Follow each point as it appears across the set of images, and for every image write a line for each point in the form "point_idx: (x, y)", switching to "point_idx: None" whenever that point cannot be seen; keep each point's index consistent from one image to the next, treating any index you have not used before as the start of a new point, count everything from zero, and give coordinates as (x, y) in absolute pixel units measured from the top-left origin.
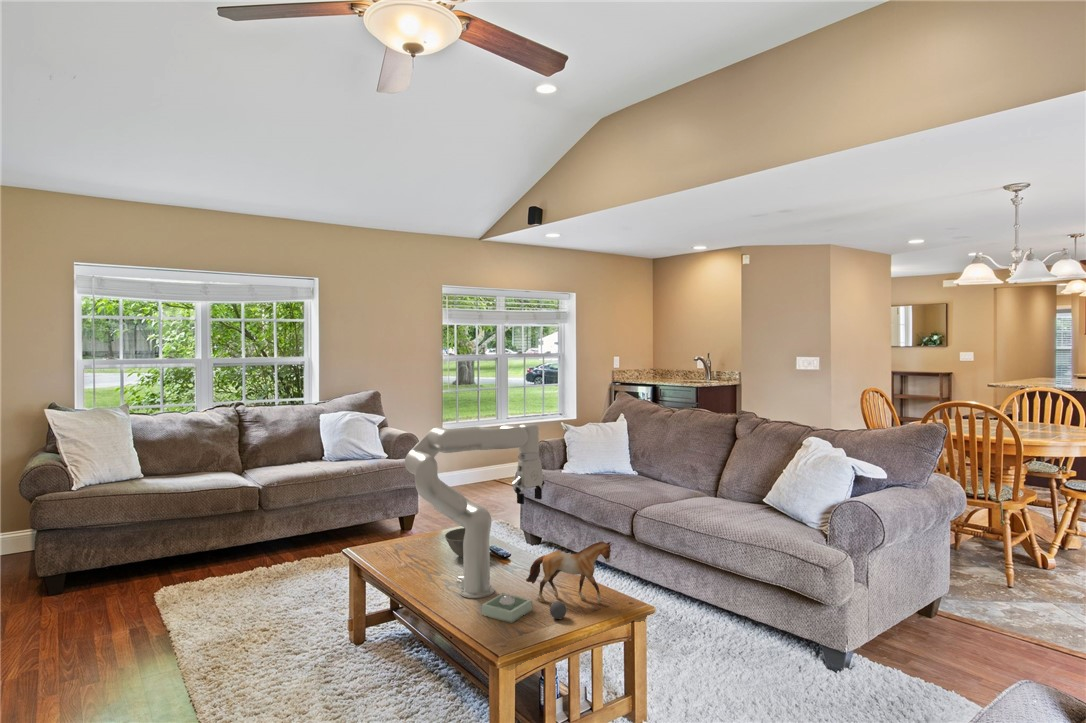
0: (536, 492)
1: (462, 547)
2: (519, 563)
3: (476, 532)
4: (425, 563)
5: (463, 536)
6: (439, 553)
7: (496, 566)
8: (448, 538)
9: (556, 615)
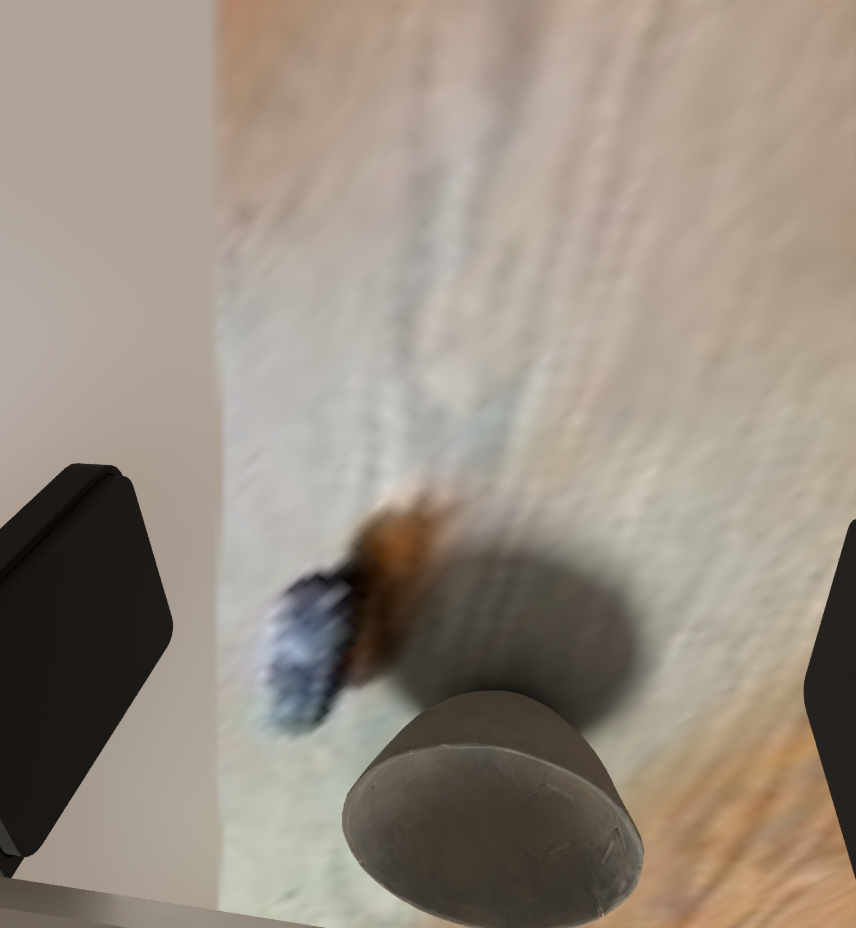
0: (70, 712)
1: (603, 770)
2: (358, 452)
3: None
4: (731, 812)
5: (445, 858)
6: None
7: (504, 523)
8: (567, 889)
9: None
